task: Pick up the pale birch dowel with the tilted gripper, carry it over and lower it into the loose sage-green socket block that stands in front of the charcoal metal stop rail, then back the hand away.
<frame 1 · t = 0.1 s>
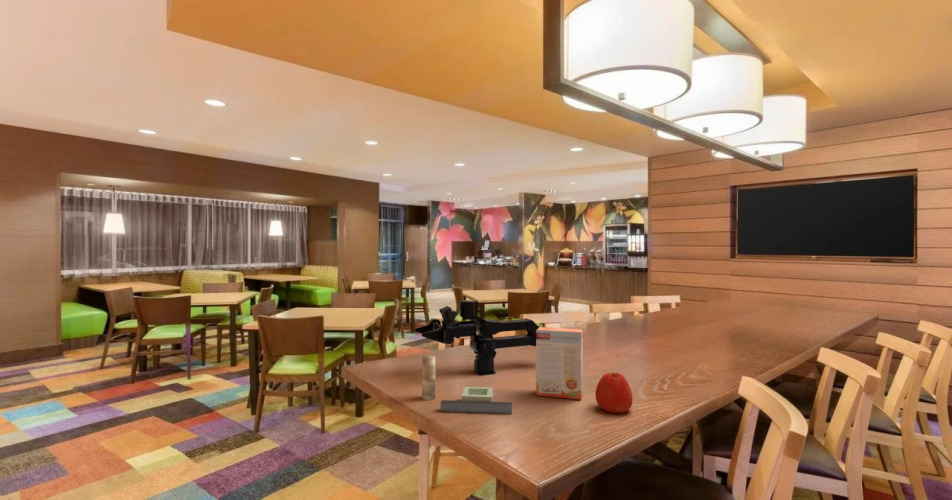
hand: (418, 332, 153), 17 cm above the table, tool horizontal, fingers open, 9 cm apart
socket block: (477, 405, 129), on the table
cracker box: (559, 395, 137), on the table
birch dowel: (428, 397, 134), on the table
apple: (614, 409, 125), on the table
stop rail: (476, 411, 123), on the table
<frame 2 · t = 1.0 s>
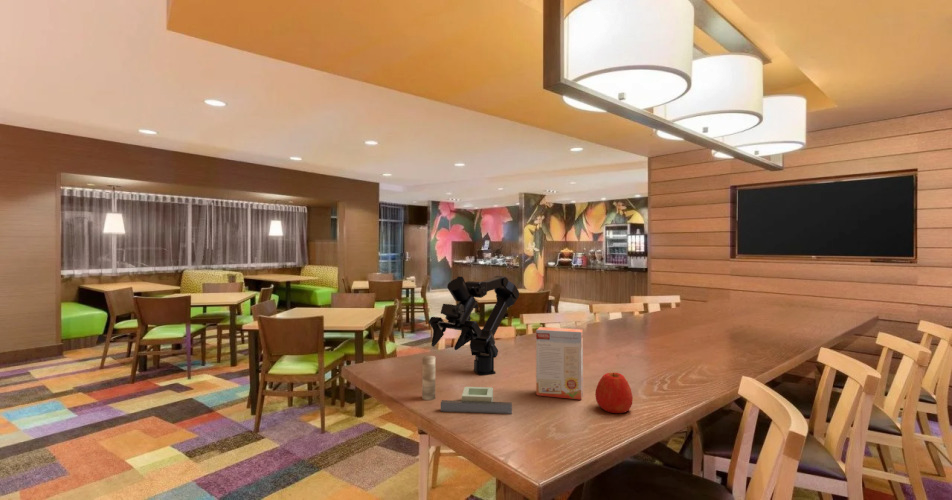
hand: (443, 347, 141), 14 cm above the table, tool tilted 45°, fingers open, 9 cm apart
nothing on the table moved.
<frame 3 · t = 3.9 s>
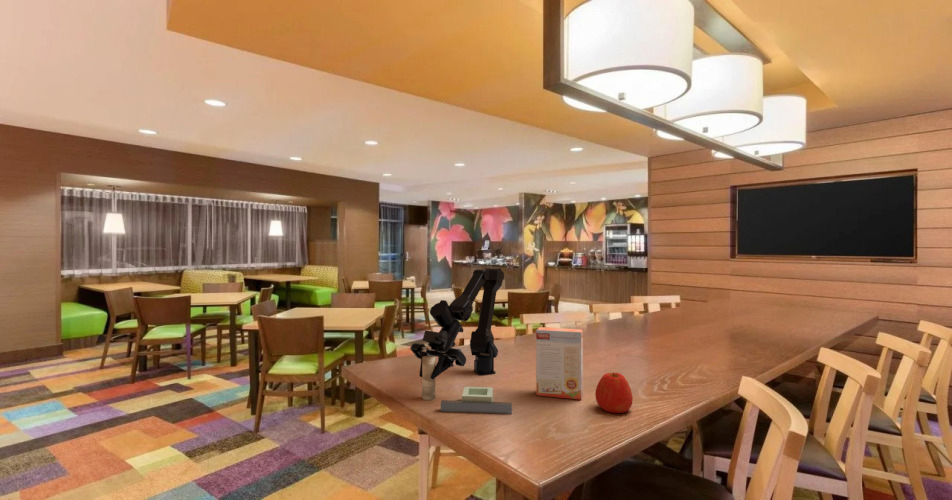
hand: (425, 377, 133), 7 cm above the table, tool tilted 45°, fingers closed on birch dowel, 4 cm apart
birch dowel: (428, 397, 134), on the table, touching gripper
everything else where it was.
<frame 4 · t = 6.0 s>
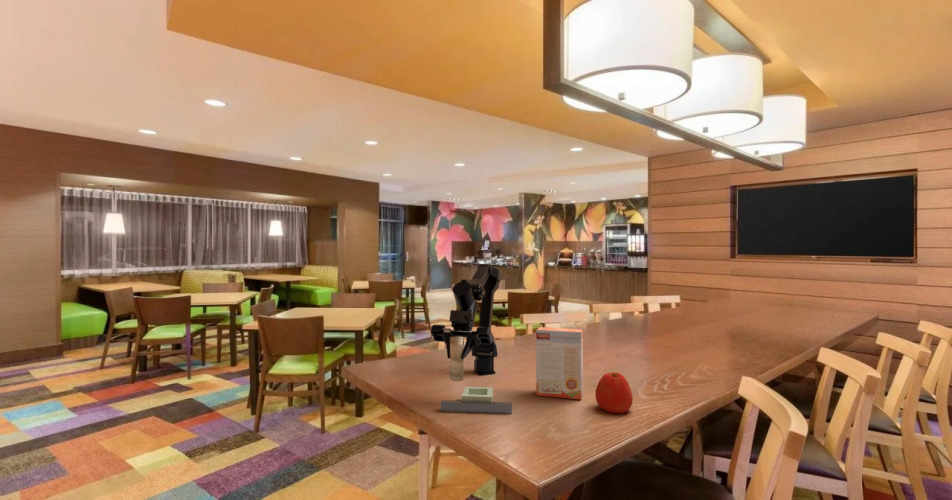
hand: (455, 358, 129), 13 cm above the table, tool tilted 45°, fingers closed on birch dowel, 4 cm apart
birch dowel: (456, 379, 130), point 7 cm above the table, touching gripper
everything else where it was.
when the fingers open (9 cm above the table, at t = 8.0 s): birch dowel drops 1 cm, resting on socket block.
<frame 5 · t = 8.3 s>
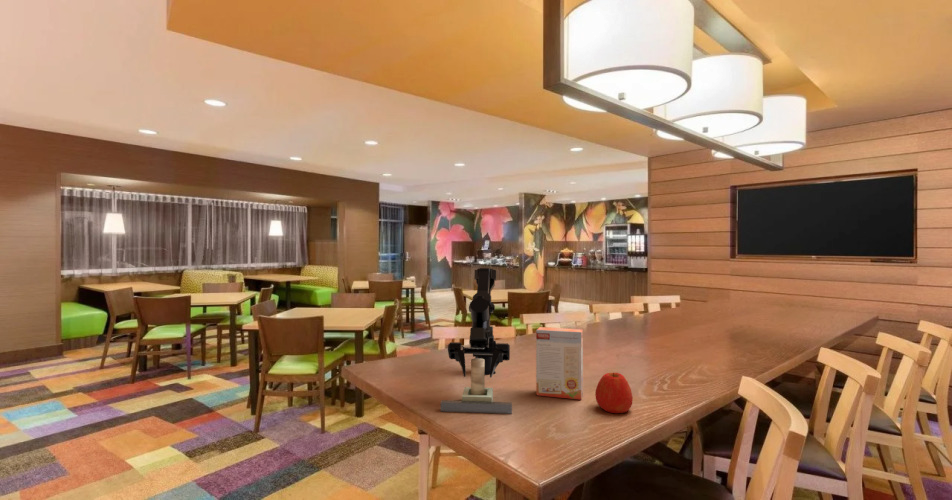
hand: (477, 376, 127), 9 cm above the table, tool tilted 45°, fingers open, 7 cm apart
socket block: (477, 405, 129), on the table, touching birch dowel
birch dowel: (477, 402, 129), point 1 cm above the table, touching socket block
everything else where it was.
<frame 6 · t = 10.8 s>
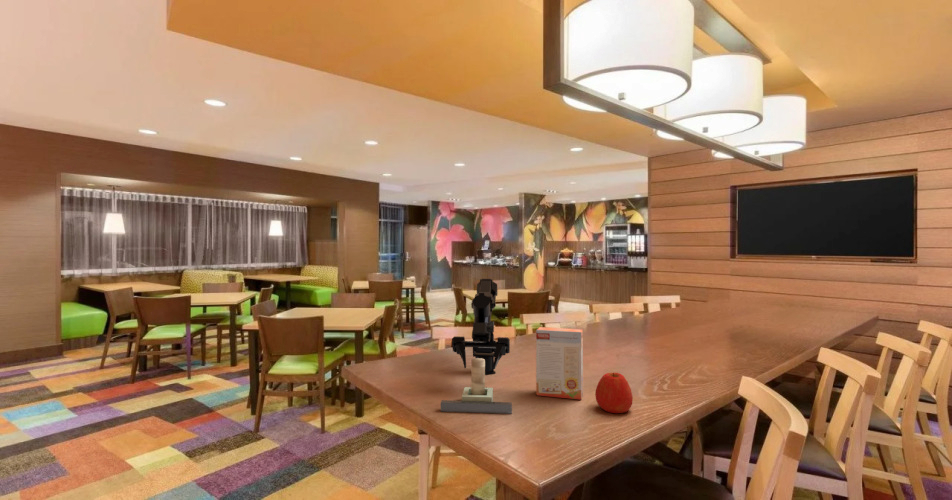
hand: (479, 368, 137), 8 cm above the table, tool tilted 45°, fingers open, 9 cm apart
nothing on the table moved.
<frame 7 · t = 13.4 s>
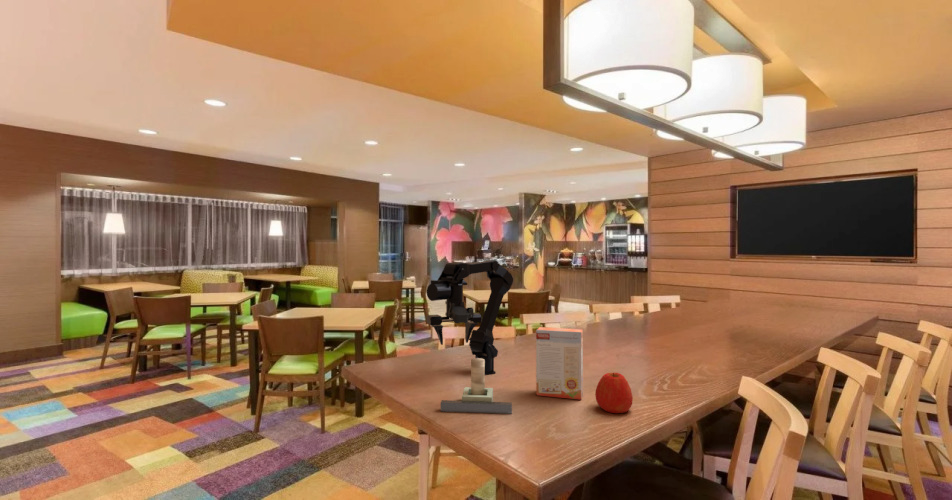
hand: (454, 343, 151), 13 cm above the table, tool pointing down, fingers open, 9 cm apart
nothing on the table moved.
at the end: birch dowel 0.0 cm off-centre on the socket block, point 1.0 cm above the socket block's base; birch dowel tilted 0°; socket block moved 0.5 cm from its start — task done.
